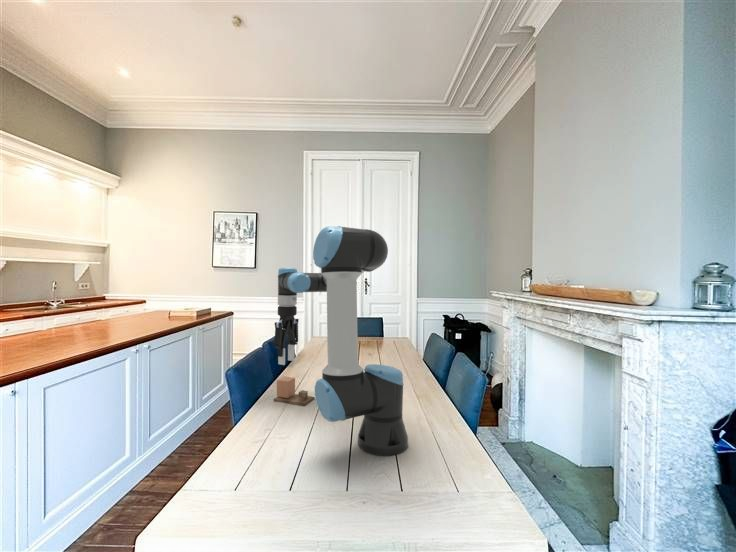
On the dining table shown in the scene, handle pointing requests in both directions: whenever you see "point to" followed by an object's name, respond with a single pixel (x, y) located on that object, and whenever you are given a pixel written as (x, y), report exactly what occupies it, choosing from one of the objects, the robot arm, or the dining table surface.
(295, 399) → the peg stand
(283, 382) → the tan upright block
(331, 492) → the dining table surface
